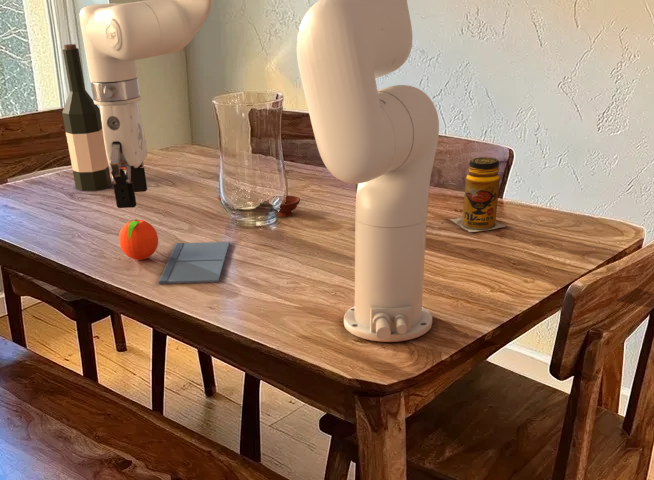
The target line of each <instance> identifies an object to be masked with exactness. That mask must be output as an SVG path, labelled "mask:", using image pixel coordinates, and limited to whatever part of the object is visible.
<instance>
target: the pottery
mask: <svg viewBox="0 0 654 480" xmlns="http://www.w3.org/2000/svg"><path fill="white" fill-rule="evenodd" d="M217 201H219V202H220V203H222V202H221V198H220V194H219V195H218V196H217ZM300 202H301V198H300V197H299V196H295V195H287V197H286V202H285V204H281V206H280V208H281V209H280V211H279V212H277V217H279V218H290V217H292V216H293V212H294V210H296V208H297V207H298V205H299V204H300Z"/></svg>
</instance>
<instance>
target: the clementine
mask: <svg viewBox="0 0 654 480" xmlns="http://www.w3.org/2000/svg"><path fill="white" fill-rule="evenodd" d="M118 243H119V247H120V249H121V251H122V252H123V253H124V254H125V255H126V256H127V257H129V258H130V259H133V260H139V261H142V260H145V259H148V258H150V257H152V256H153V255H154V254H155V253H156V250H157V249H158V245H159V236H158V232H157V230H156V228H155V227H154V226H153V225H152V224H151V223H150V222H148V221H146V220H143V219H133V220H130V221H127V222H126V223H125V224H124V225H123V226H122V227H121V229H120V231H119V234H118Z"/></svg>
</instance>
